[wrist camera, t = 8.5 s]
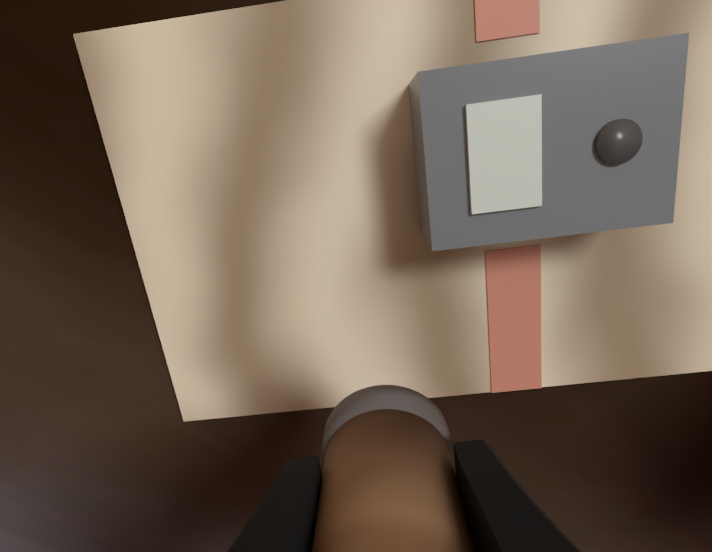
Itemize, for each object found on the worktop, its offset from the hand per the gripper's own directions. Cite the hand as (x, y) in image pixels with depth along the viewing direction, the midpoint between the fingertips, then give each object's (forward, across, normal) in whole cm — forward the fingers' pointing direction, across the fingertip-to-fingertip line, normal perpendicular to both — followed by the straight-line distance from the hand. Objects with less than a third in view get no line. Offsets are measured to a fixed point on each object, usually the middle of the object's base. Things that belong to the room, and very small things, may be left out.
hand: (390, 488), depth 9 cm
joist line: (+9, -5, -4) cm, 11 cm away
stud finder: (+8, -5, -6) cm, 12 cm away
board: (+10, -3, -4) cm, 11 cm away
